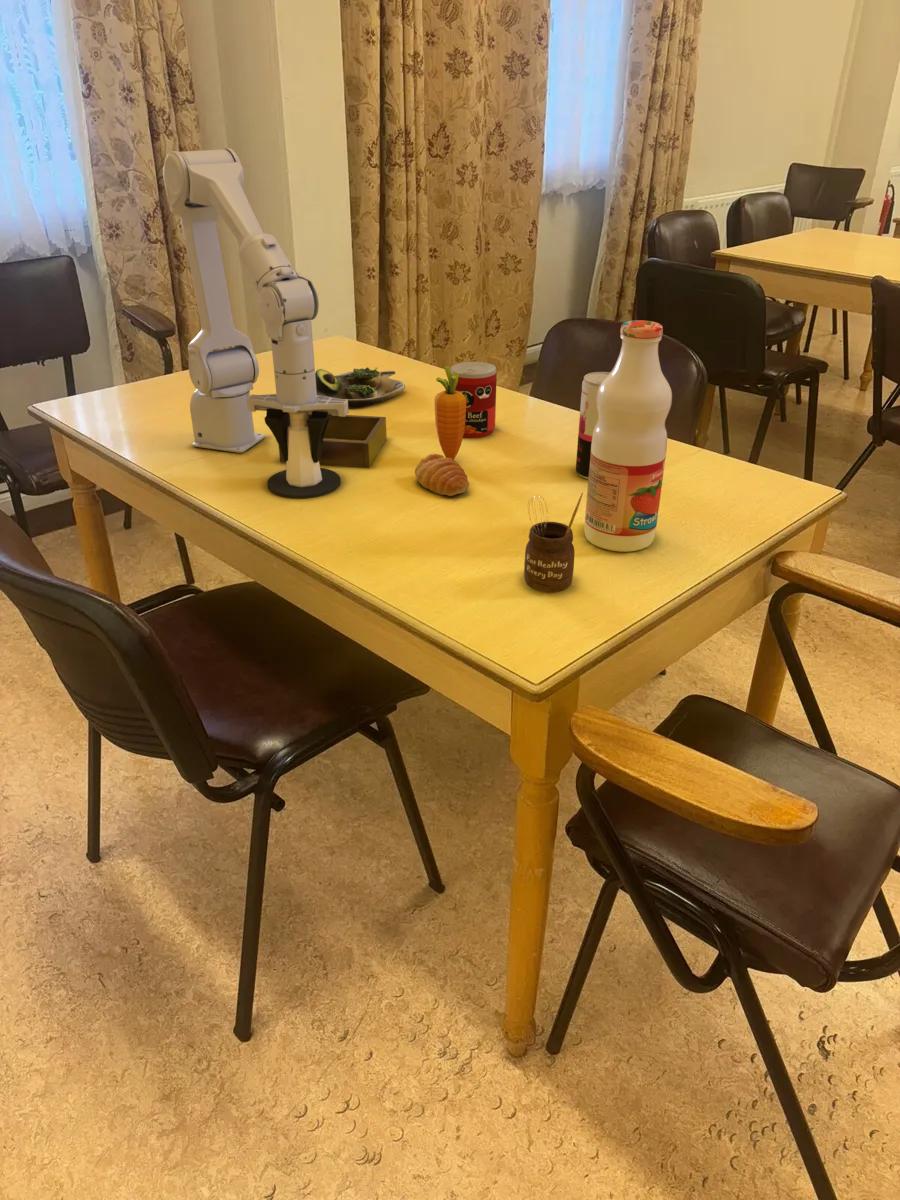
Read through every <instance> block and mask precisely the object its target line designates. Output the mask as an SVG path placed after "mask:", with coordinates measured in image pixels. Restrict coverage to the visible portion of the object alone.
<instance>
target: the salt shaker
mask: <svg viewBox="0 0 900 1200" xmlns="http://www.w3.org/2000/svg"><path fill="white" fill-rule="evenodd" d="M289 415H290V426H288V427H287V449H288V461H287V462H286V467H285V470H286V480H287V481H288V483H289V485H291V486H297V487H308V486H315V485H316V484H318V483H319V482H320V481H322V475H321V470H320V468H321V464H319V461H318V463H314V462H313V460H312V453H311V439H310V433H309V429H308V425H307V419H308V413H306V411H297V412H295V413H291V412H289Z"/></svg>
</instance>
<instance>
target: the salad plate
mask: <svg viewBox="0 0 900 1200" xmlns="http://www.w3.org/2000/svg"><path fill="white" fill-rule="evenodd" d="M395 374H396V371H395V370H386V371H379V370H378V367H374V369H370V367H366V368H353V370H352V371H347V372H343V373H340V374H337V375H334V374H333V373H331V372H330V371H328V370H326V369H322V368H319V369H317V370H315V378H316V391H317V395H320V396H326V397H331V398H337V399H346V400H348V409H356V408H363V407H364V408H365V407H369V406H372V405H375V404H378V403H382V402H385V401H387V400H389V399H390V398H391V399H392V398H393V397H396V396H397V395H399V394H400V393H401V392H403V391H404V390H405V388H406V385H405V383H404V382H403V381H400V380H397V379H393V378H389V377H391V376H394V375H395Z"/></svg>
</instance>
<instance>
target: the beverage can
mask: <svg viewBox="0 0 900 1200" xmlns="http://www.w3.org/2000/svg"><path fill="white" fill-rule="evenodd" d="M610 372H611V371H609V372H607V371H595V372H589V373H587V374H585V375H584V376H583V380H582V382H581V383H582V384H581V395H580V408H579V422H578V434H577V446H576V447H577V449H576V461H575V472H576V473H577V474H578V475H579V476H580V477H581V478H583V479H585V480H588V479H589V468H590V456H591V444H592V437H593V432H594V428H595V426H596V424H597V422H598V420H599V413H598V408H597V393H598V389H599V386H600V384H601V383H602V381H603V380H604V379H605V378H606V376H607V375H608V374H609V373H610Z"/></svg>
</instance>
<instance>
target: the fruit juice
mask: <svg viewBox="0 0 900 1200" xmlns="http://www.w3.org/2000/svg"><path fill="white" fill-rule="evenodd" d="M663 330H664V328H663V324H661V323H659V322H656V321H652V320H639V319H638V320H628V321H624V322H623V323H621V325H620V332H619V333H620V339H621V347H620V352H619V354H618V357H617V360H616V362H615V364H614V366H613V368H612V369H611V371H609V372H610V373H609V374H608V375H607V376H606V378H605V379H604V380H603V381H602V383H601V384H600V386H599V389H598V393H597V408H598V413H599V420H598V422H597V424H596V426H595V428H594V432H593V437H592V444H591V456H590V468H589V479H587V489H586V490H587V492H586V502H585V515H584V525H583V527H584V535H585V538H586V540H587V541H588V542H589V543H591V544H592V545H594V546H596V547H598V548H601V549H604V550H608V551H613V552H622V553H623V552H624V553H625V552H627V553H628V552H635V551H640V550H643V549H645V548H648V547H649V546H650V545H651V544H652V543H653V542H654V539H655V536H656V533H657V524H658V517H659V511H660V503H661V494H662V487H663V480H664V470H665V465H666V458H667V453H668V452H667V450H668V431H667V428H666V420H667V417H668V416H669V413H670V410H671V408H672V404H673V391H672V388H671V386H670V384H669V381H668V380H667V378H666V377H665V375H664V374H663V371H662V368H661V363H660V358H659V343H660V342H661V341H662V337H663V336H664V335H663V334H664V331H663Z"/></svg>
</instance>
